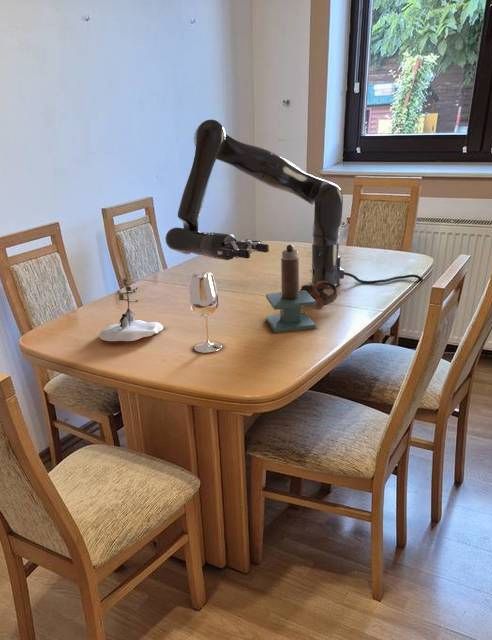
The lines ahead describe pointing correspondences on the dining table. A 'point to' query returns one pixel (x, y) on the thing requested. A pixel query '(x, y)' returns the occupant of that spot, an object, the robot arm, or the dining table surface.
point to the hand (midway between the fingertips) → (258, 251)
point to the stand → (290, 312)
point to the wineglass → (204, 305)
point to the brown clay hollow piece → (321, 293)
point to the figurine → (129, 324)
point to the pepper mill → (290, 274)
